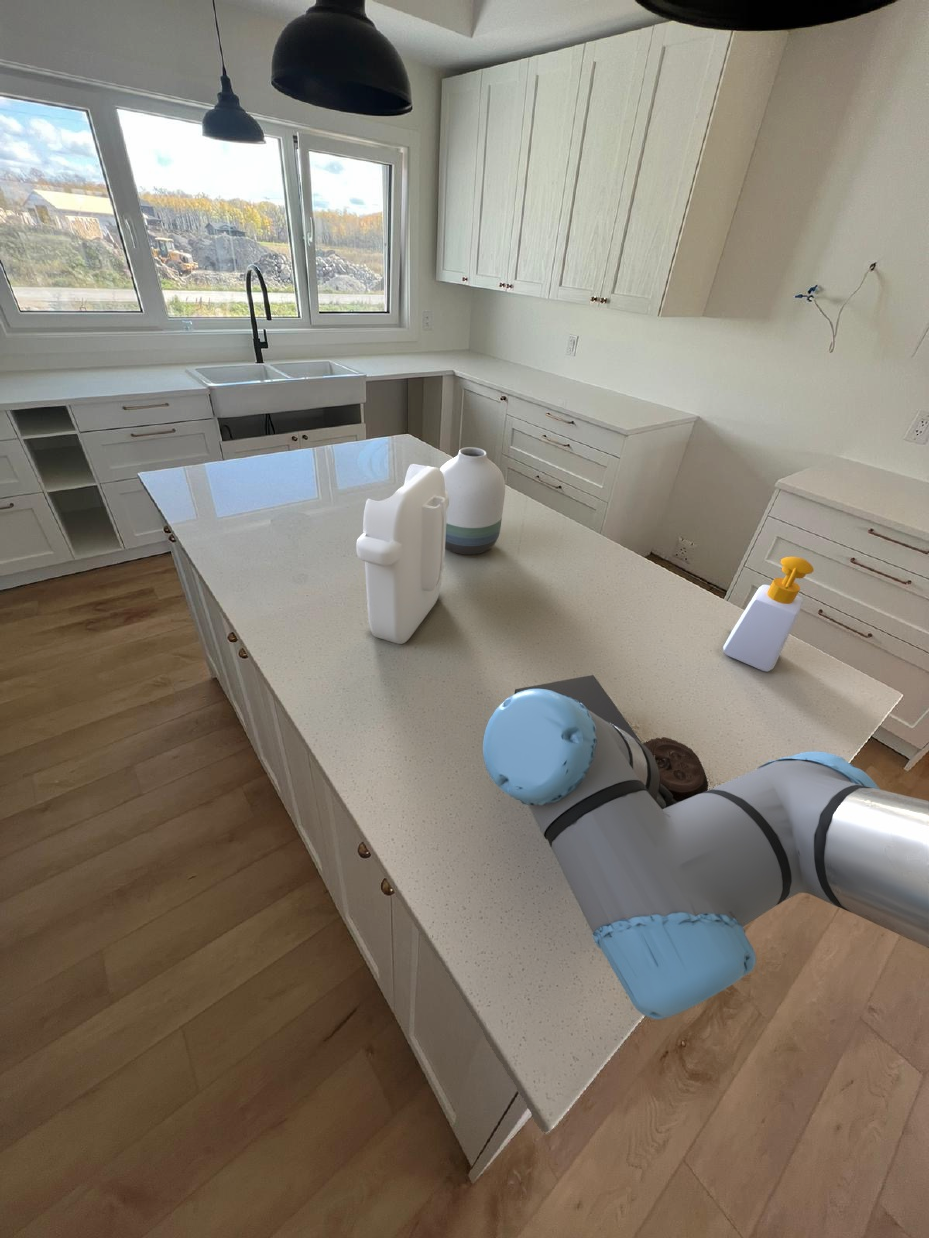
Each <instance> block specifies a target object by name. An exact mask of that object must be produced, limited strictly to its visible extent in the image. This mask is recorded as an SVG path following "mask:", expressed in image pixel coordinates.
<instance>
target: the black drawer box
mask: <svg viewBox="0 0 929 1238" xmlns="http://www.w3.org/2000/svg"><path fill="white" fill-rule="evenodd" d="M528 689H546V690H550V691H553V692H556V693H558V694H561V695H563V696H569V697H571V698H572V699H575V700H577V701H578V703H582V704H583V705H584V706H585V707H586V708H587V709H588V710H589V711H591V712H592V713H594V714H596V715H597V716H599V717H600V718H602V719H603V720H605V721H607V722H609V723H611V724H612V725H614V726H616V727H618V728H620V729H621V730H623V731H625V732H627V733H628V734H629V735H630V736H632V737H633V738H635V739H637V740H638V741H640V742H641V743H643V741H641V739H640V737H639V736H638V735H637V734H636V732H635V731H634V729H633V728H632V727H631V725H630V724H629V723H628V721H627V719H626V718H625V717H624V715H623V714H622V712H621V710H619V708H618V707H617V706H616V704H615V703H614V701H613V700H612V699H611V697H610V696H609V694H608V693H607V691H606V690H605V689H604V687H603V686H602V684H601V683H600V682H599V680H598V679H597V678H596V676H595V675H594V674H589V675H583V676H580V677H574V678H567V679H563V680H556V681H552V682H547V683H541V684H537V685H530V686H526V687H520V688H515V689H514V694H516V693H518V692H521V691H524V690H528ZM514 694H513V695H514Z"/></svg>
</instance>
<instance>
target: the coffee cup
mask: <svg viewBox="0 0 929 1238" xmlns="http://www.w3.org/2000/svg"><path fill="white" fill-rule="evenodd" d="M642 743H643V744H644V745H645V746H646V747H647V748H648V749H649V750H650V752H651V753H652V755H653V756H654V758H655V760H656V763H657V766H658V769H659V776H660V783H661V784H662V785H664V786H665V787H666V788H667V789H668V790H669V791H670V792H671V794H672V795H673V799H674V800H676V801H677V802H678V803H679V802H681V801H683V800H686V799H688V798H690V797H693V796H695V795H697V794H701V793H703V792H705V791H707V790H709V781H708V778H707V775H706V774H707V773H706V772H705V768H704V767H703V765H702V762H701V760H700V758H699V756H698V755H697V754H696V752H695V751H694V750H693V749H692V748H691V747H689V746H688V745H686V744H684V743H683V742H679V741H678V740H676V739H672V738H668V737H661V738H660V737H655V738H651V739H649V740H648V741H645V742H642Z"/></svg>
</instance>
